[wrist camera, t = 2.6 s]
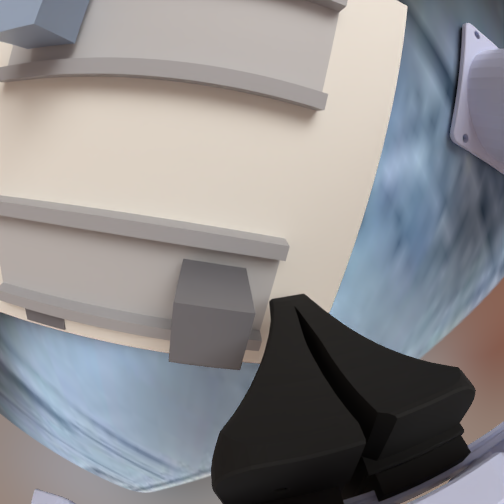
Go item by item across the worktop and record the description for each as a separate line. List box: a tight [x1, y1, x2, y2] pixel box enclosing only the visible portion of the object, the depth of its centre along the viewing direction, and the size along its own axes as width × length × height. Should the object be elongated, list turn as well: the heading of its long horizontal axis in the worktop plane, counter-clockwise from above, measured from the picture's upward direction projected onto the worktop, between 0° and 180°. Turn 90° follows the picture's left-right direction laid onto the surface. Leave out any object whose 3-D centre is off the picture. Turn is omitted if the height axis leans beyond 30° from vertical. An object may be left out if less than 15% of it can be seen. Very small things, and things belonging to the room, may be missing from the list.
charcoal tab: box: [169, 259, 256, 370], centre depth 10 cm, size 2×2×3 cm
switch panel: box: [0, 0, 407, 363], centre depth 10 cm, size 19×18×3 cm
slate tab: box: [0, 0, 90, 49], centre depth 5 cm, size 2×2×3 cm
